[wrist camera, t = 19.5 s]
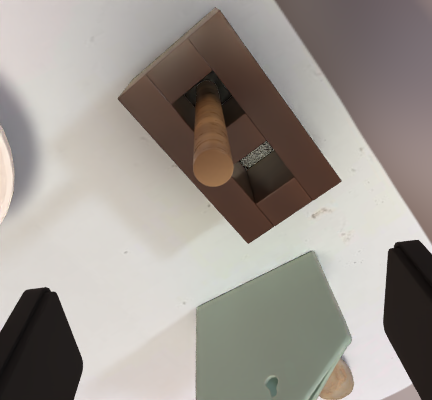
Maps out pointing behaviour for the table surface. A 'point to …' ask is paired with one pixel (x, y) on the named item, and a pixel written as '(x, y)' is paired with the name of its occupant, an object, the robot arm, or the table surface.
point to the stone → (338, 382)
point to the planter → (271, 336)
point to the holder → (231, 127)
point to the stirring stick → (210, 138)
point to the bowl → (5, 175)
